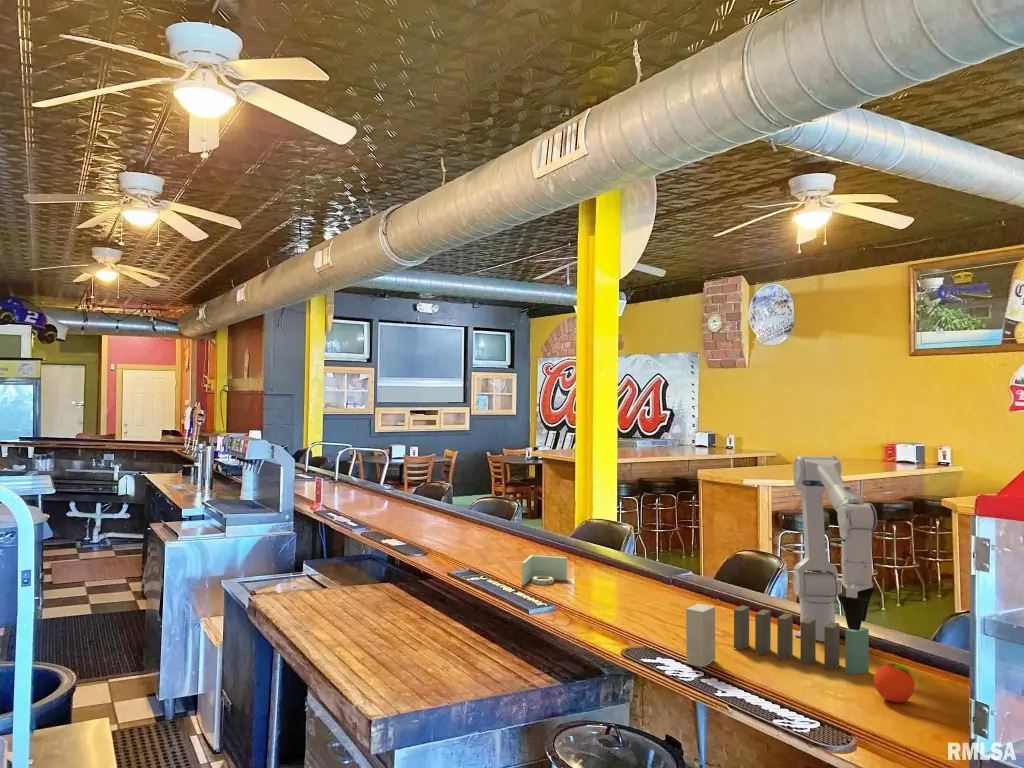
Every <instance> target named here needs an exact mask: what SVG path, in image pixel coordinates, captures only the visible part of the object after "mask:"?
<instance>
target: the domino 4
mask: <svg viewBox="0 0 1024 768" xmlns="http://www.w3.org/2000/svg"><path fill="white" fill-rule="evenodd" d="M816 641H817V640H816V619H814V618H808V617H807V618H806V619H804V620H803V621H801V637H800V655H799V656H800V659H799V660H800V662H799V663H801V665H804V664H805V666H810V665H811V664H813V663H814V662H815V661H816V660H817V659H816V656H817V655H816V653H817V652H816V651H817V649H816V647H817V645H816Z"/></svg>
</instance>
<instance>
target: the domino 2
mask: <svg viewBox="0 0 1024 768" xmlns="http://www.w3.org/2000/svg"><path fill="white" fill-rule="evenodd" d="M771 613H772V612H771V610H770V609H762V608H761V610H759V611H758V612H757V611H756V613H755V616H754V617H755V618H754V620H755V621H754V622H755V623H754V624H755V625H754V626H755V628H754V631H755V632H754V633H755V634H754V636H755V637H754V640H755V641H754V643H755V645H754V648H755V649H754V653H758V654H757V655H759V654H762V655H761V656H764V655H766V654H767V653H768V652H770V651H771V634H772V633H771V627H772V626H771V625H772V624H771V620H772V619H771V617H772V615H771ZM769 650H770V651H769ZM765 653H766V654H765Z"/></svg>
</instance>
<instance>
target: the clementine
mask: <svg viewBox="0 0 1024 768" xmlns="http://www.w3.org/2000/svg"><path fill="white" fill-rule="evenodd" d="M875 671H876V672H875V673H874V678H873V682H874V687H875V689H876V691H877V692H878V694H879V695H880V696H881V697H882V698H884V699H885V700H886V701H888V702H891V703H903V702H906V701H908V700H909V699H910V698H912V696H913V694H914V692H915V680H914V678H913V676H914V677H915V678H916V679H917V680H918V683H919V684H921V681H920V680H919V678H918V676H917V675H916V674H915V672H913V671H912V670H911V669H909V668H908V667H905V666H903V665H899V664H896V663H893V662H892V663H886V664H882V665H881V666H880V667H878V668H877V670H875ZM912 675H913V676H912Z"/></svg>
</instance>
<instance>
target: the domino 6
mask: <svg viewBox="0 0 1024 768" xmlns="http://www.w3.org/2000/svg"><path fill="white" fill-rule="evenodd" d="M844 630H845V631H844V632H845V633H844V634H845V635H844V636H845V639H844V641H845V643H844V645H845V662H844V664H845V665H844V666H845V669H844V670H845V673H846V674H848V675H851V676H856V675H862V674H866V673H870V672H869V671H870V668H869V667H870V666H869V665H870V664H869V663H870V660H869V659H870V655H869V651H870V647H869V646H870V645H869V640H870V639H869V637H870V636H869V635H870V632H869V628H865V627H863V626H861V627H860V630H852V629H848V628H847V629H844Z"/></svg>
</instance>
